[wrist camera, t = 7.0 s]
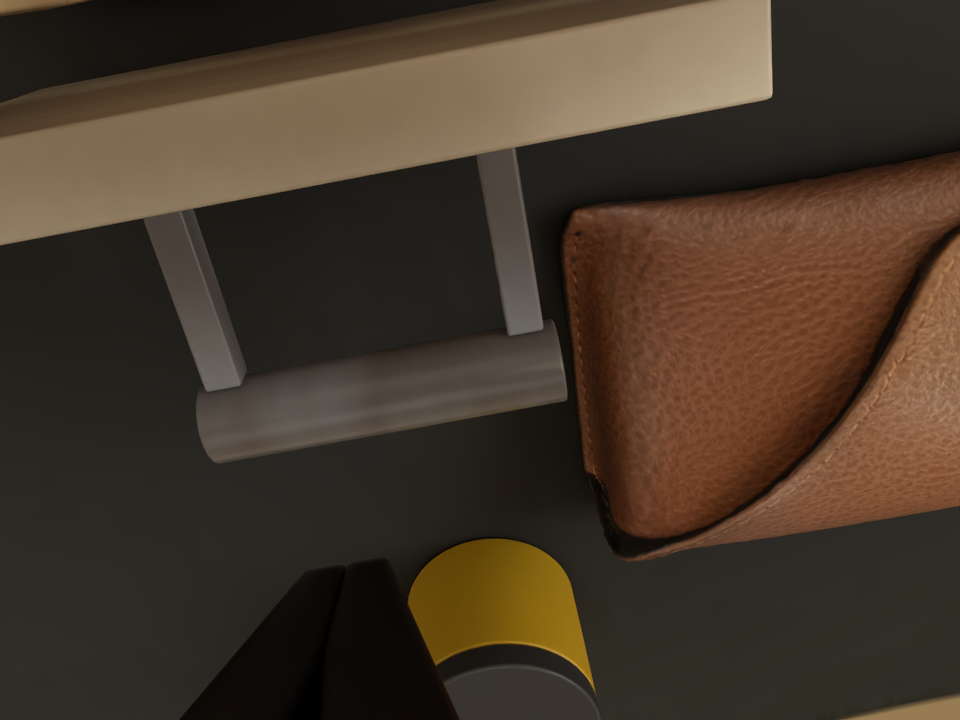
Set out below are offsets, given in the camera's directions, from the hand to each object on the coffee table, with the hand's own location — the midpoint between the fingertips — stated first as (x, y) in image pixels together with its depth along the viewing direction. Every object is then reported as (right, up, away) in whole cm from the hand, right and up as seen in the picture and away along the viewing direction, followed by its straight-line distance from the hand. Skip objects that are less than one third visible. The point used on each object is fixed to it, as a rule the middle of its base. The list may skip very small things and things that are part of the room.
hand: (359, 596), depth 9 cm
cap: (+1, -4, +15) cm, 16 cm away
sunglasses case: (+12, +4, +12) cm, 17 cm away
